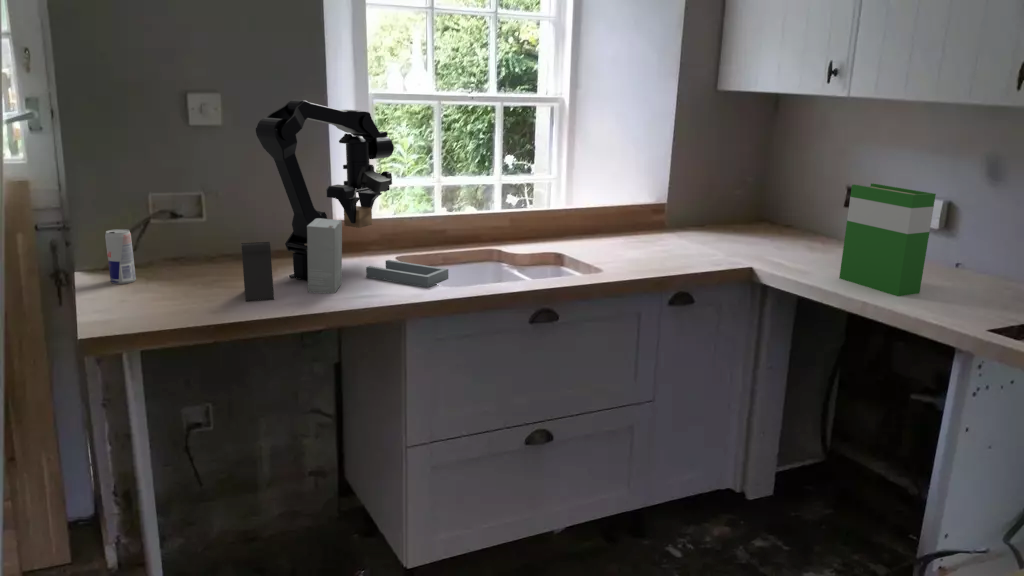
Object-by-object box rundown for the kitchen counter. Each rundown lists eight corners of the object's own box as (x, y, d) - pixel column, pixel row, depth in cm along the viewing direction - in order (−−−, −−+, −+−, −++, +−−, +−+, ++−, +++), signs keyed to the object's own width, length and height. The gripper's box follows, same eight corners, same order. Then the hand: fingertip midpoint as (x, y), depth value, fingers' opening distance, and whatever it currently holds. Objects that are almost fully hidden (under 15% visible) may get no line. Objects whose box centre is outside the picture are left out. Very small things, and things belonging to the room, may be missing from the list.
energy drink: (111, 279, 187) (106, 229, 184) (136, 277, 189) (131, 228, 186) (109, 285, 182) (103, 234, 179) (135, 283, 184) (129, 232, 181)
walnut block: (359, 228, 202) (359, 210, 201) (344, 225, 204) (343, 208, 203) (372, 224, 206) (371, 207, 205) (356, 222, 208) (356, 205, 207)
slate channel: (427, 287, 186) (427, 276, 185) (366, 276, 194) (366, 266, 193) (448, 278, 194) (448, 269, 193) (388, 269, 202) (388, 259, 201)
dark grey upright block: (244, 291, 180) (240, 239, 177) (272, 289, 182) (268, 238, 179) (245, 302, 172) (241, 248, 169) (274, 300, 174) (270, 246, 171)
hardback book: (839, 278, 202) (851, 184, 196) (860, 275, 205) (873, 183, 199) (897, 296, 187) (913, 195, 181) (919, 293, 190) (935, 193, 184)
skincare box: (315, 283, 187) (312, 217, 183) (345, 284, 187) (343, 218, 183) (306, 293, 179) (302, 224, 175) (337, 294, 179) (335, 225, 175)
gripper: (359, 166, 189) (361, 231, 193) (405, 159, 205) (406, 219, 209) (323, 163, 194) (326, 226, 198) (371, 156, 210) (372, 215, 214)
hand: (359, 221), depth 205 cm, fingers closed on walnut block, 5 cm apart
